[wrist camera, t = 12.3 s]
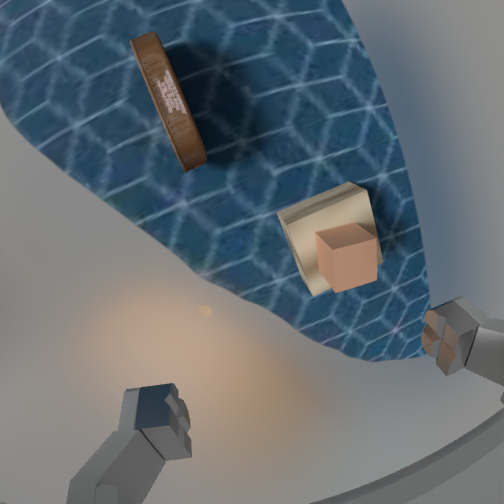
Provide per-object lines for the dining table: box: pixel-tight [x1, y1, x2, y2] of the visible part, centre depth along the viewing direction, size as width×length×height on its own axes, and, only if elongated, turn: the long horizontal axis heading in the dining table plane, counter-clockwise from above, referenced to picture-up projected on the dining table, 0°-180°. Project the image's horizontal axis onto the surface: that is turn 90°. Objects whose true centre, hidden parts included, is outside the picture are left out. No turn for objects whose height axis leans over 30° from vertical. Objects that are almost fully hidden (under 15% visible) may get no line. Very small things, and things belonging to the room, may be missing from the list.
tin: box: [130, 32, 207, 173], centre depth 27 cm, size 15×3×8 cm, turn 21°
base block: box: [277, 182, 383, 296], centre depth 38 cm, size 10×10×5 cm
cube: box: [315, 223, 377, 293], centre depth 33 cm, size 5×5×5 cm
